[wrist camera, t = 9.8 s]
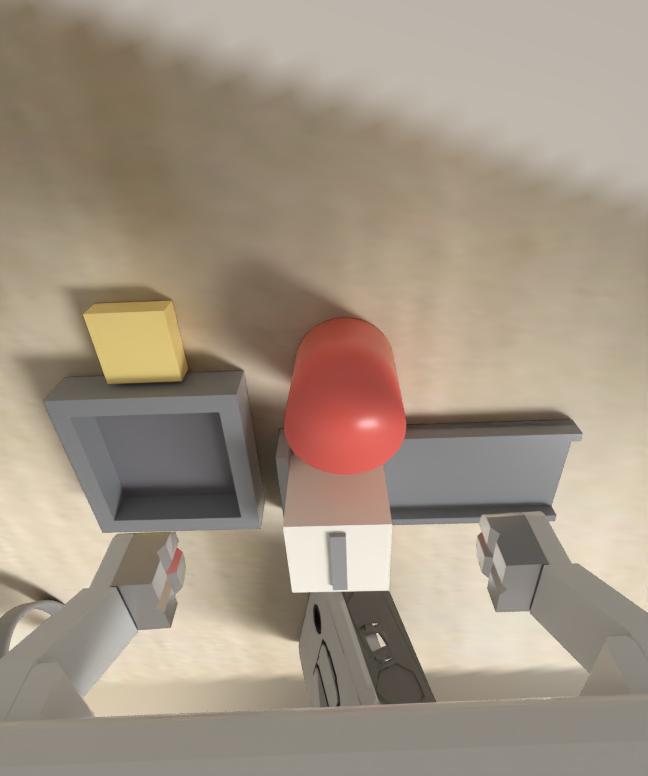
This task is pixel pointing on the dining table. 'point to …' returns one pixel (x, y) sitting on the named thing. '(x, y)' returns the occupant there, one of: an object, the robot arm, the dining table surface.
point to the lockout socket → (157, 430)
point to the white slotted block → (337, 530)
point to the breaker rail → (468, 470)
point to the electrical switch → (358, 652)
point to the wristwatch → (5, 625)
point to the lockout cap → (344, 399)
